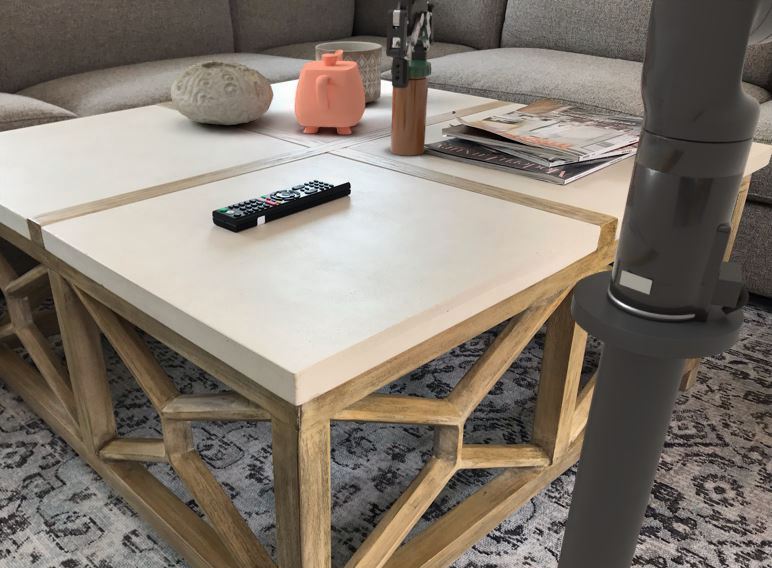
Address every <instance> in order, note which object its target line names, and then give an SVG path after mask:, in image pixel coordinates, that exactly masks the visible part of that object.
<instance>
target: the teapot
mask: <svg viewBox="0 0 772 568" xmlns="http://www.w3.org/2000/svg"><path fill="white" fill-rule="evenodd" d="M342 56H343V50H337V51H336V52H335V54H323V55H322V59H323V61H316V60H312V61H311V60H310V61H309V62H306V63H305V64H304V65H303V66H302V68H301V70H300V74H299V77H298V81H297V84H296V89H295V97H294V115H295V118H296V120H297V122H298V124H299V125H300V126H303V127H304V126H305V128H304V129H303V133H304V134H316V133H318V131H319V128H320V127H321V128H336V131H337V134H339V135H351V134H352V133H353V132H352V129H351V127H354V126H357V124H358V123H359V122H360V121H361V120H362V118H363V115H364V113H365V111H366V110H365V109H366V103H365V94H364V88H363V83H362V80H361V76H360V72H359V69H358V66H357V63H356V62H353V61H342Z"/></svg>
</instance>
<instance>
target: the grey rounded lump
mask: <svg viewBox="0 0 772 568" xmlns="http://www.w3.org/2000/svg"><path fill="white" fill-rule="evenodd" d="M169 91H170V98H171V99H170V100H171V102H172V104H173V106H174V108H175V109H176V110H177V111H178V113H180V114H181V115H182V116H184V117H186V118H187V119H188V120H191V121H192V122H198V123H203V124H208V125H221V126H232V125H234V126H235V125H239V124H245V123H246V124H247V123H250V122H253V121H256V120H258V119H259V118H261V117H262V116H263V115H264V114H265V113H267V112H268V110H270V107H271V104H272V102H273V99H274V91H273V88H272V85H271V82H270V79H269V78H266V77H265V76H264V75H263V74H262V73H260V71H258V69H254V68H251V67H248V66H246V64H241V63H239V62H235V61H231V60H229V61H217V60H213V59H211V60H210V61H208V60H206V61H205V60H204V61H201V62H197V63H196V64H193V65H190V66H188V67H186V68H185V69H184V70H183V71H181V72H180V73H179V74H176V75H175V79H174V82H173V83H172V85H171V87H170V90H169Z"/></svg>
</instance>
